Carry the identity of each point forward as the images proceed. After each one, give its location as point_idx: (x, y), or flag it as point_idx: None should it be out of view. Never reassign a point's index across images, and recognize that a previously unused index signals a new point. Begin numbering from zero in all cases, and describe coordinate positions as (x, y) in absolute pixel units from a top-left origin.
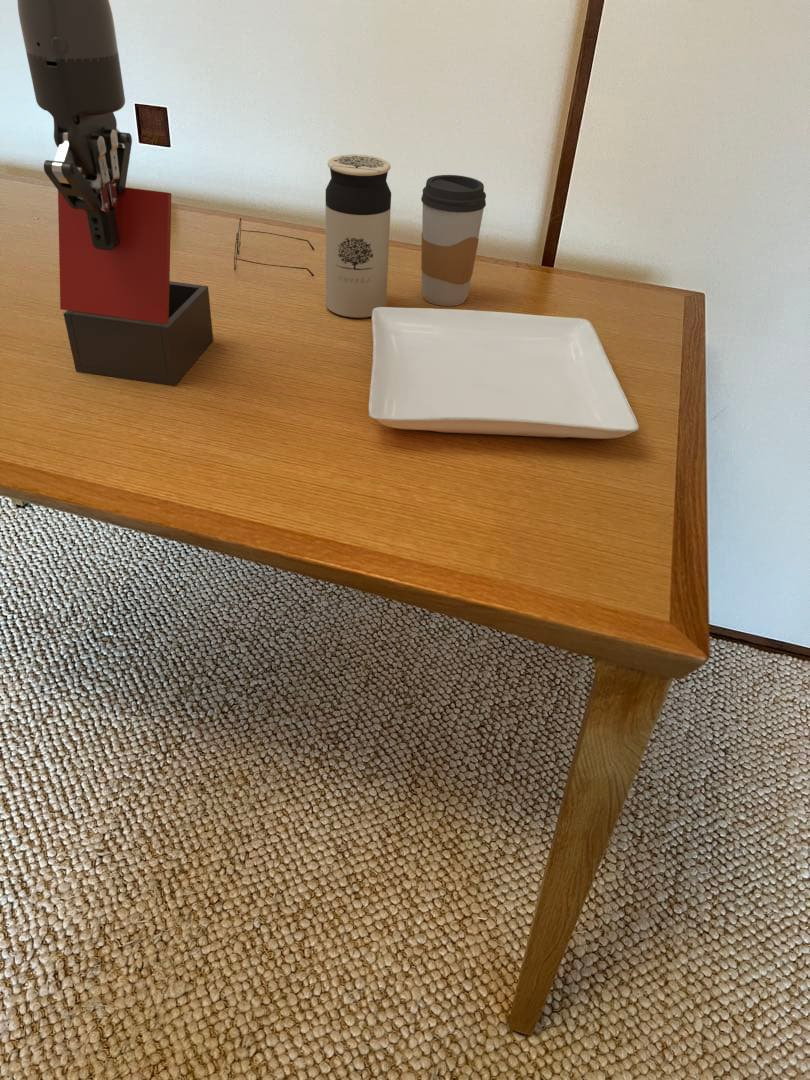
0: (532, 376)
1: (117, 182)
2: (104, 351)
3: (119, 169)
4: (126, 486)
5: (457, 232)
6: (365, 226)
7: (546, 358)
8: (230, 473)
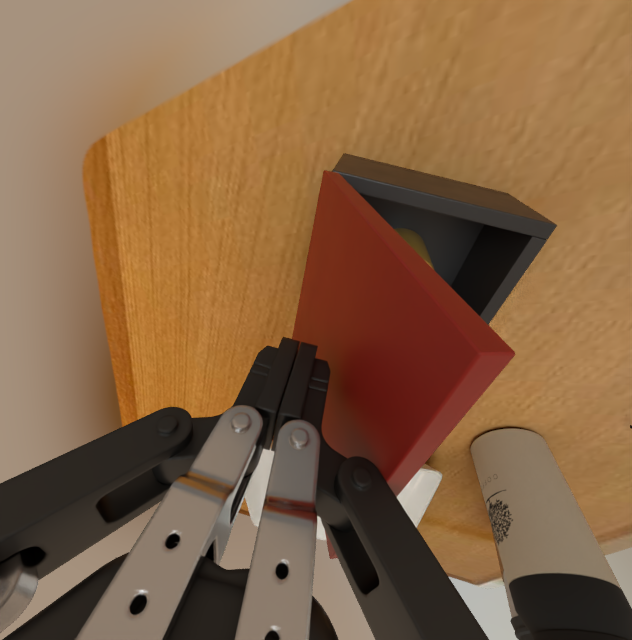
0: None
1: (328, 532)
2: None
3: (353, 584)
4: (126, 272)
5: (506, 588)
6: (503, 566)
7: None
8: (177, 344)
